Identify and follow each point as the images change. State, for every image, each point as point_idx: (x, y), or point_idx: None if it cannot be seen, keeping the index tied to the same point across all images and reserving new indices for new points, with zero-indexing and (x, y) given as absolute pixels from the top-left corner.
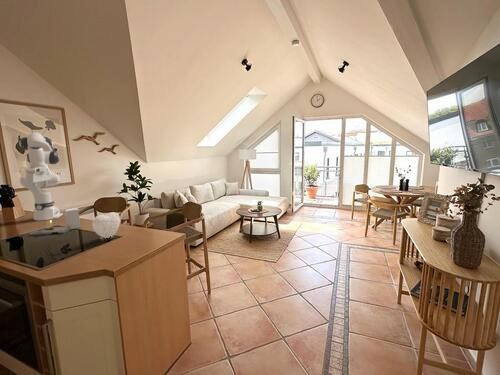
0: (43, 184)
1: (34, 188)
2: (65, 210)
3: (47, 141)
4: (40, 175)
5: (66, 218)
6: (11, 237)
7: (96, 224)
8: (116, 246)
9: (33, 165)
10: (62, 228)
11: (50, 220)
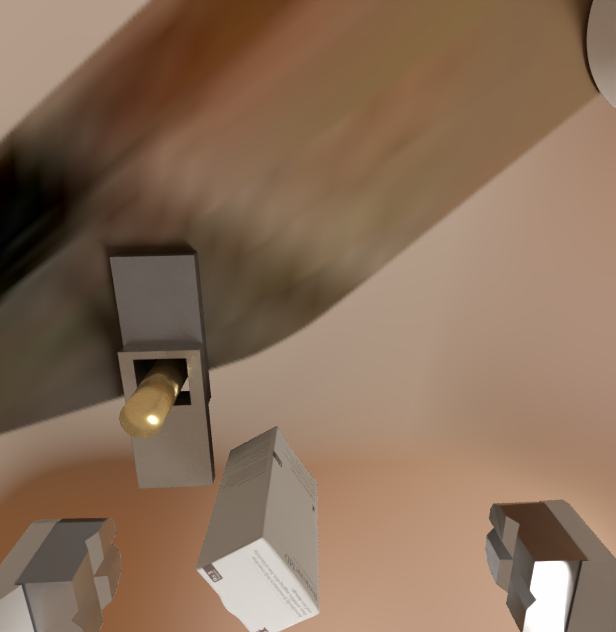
0: (582, 562)
1: (39, 527)
2: (226, 558)
3: None
4: None
5: (212, 515)
6: (57, 152)
7: None
8: None
9: None
10: (171, 464)
11: (142, 433)
